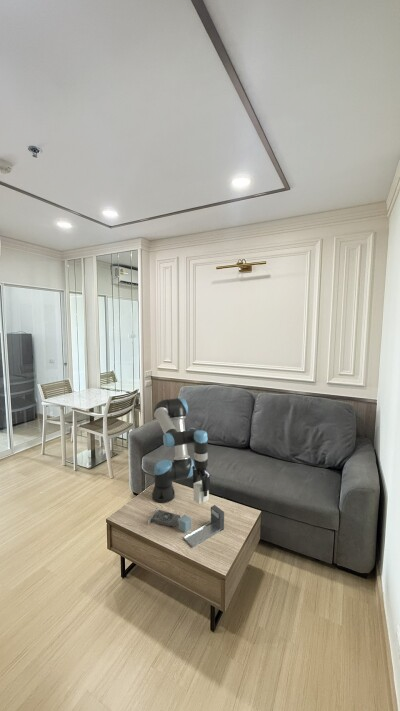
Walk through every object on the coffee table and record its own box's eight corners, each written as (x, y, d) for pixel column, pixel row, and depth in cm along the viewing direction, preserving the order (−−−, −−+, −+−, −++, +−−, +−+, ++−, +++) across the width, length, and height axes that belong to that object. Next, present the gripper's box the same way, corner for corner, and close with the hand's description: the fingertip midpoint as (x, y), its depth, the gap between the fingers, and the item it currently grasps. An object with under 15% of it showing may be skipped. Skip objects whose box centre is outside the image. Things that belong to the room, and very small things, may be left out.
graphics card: (146, 519, 165) (156, 506, 176) (146, 525, 166) (156, 512, 177) (172, 527, 159) (181, 513, 170) (172, 533, 160) (181, 519, 171)
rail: (183, 538, 155) (183, 520, 153) (214, 521, 168) (214, 504, 167) (192, 547, 148) (192, 528, 147) (223, 529, 162) (224, 512, 161)
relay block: (178, 529, 162) (178, 519, 161) (184, 524, 166) (184, 514, 165) (185, 533, 159) (185, 522, 158) (191, 528, 163) (191, 518, 162)
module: (193, 500, 162) (193, 483, 162) (203, 495, 167) (203, 479, 166) (199, 504, 158) (199, 486, 158) (208, 499, 163) (208, 482, 162)
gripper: (186, 455, 165) (186, 494, 167) (205, 466, 151) (206, 508, 153) (196, 452, 170) (196, 489, 172) (216, 462, 156) (216, 503, 158)
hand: (201, 498), depth 162 cm, fingers closed on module, 5 cm apart
